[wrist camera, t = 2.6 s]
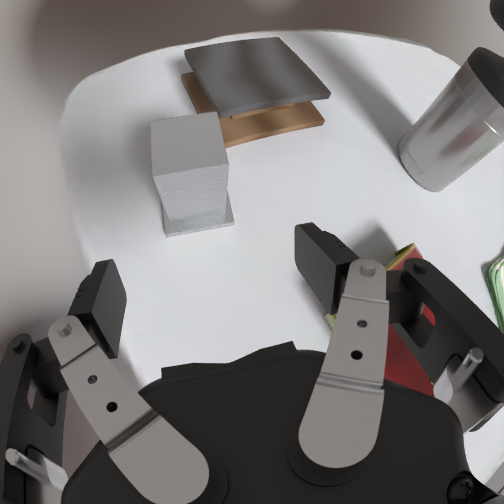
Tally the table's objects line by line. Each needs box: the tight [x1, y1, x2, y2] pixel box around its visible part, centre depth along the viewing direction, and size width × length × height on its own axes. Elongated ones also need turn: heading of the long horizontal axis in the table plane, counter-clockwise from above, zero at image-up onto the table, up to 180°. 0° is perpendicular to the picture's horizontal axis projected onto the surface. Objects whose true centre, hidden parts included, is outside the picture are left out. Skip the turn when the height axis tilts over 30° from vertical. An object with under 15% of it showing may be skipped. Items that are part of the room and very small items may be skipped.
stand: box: [182, 37, 331, 148], centre depth 29 cm, size 14×14×6 cm
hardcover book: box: [324, 243, 435, 397], centre depth 23 cm, size 12×21×4 cm, turn 33°
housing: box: [150, 112, 234, 237], centre depth 22 cm, size 6×7×9 cm
